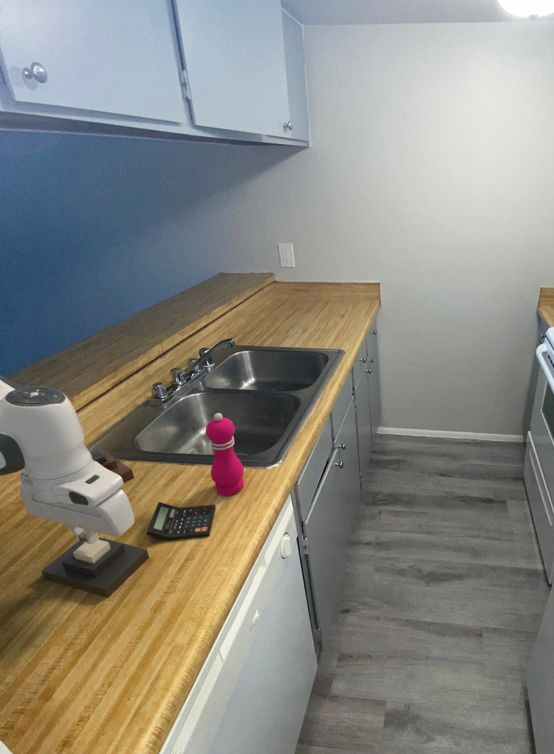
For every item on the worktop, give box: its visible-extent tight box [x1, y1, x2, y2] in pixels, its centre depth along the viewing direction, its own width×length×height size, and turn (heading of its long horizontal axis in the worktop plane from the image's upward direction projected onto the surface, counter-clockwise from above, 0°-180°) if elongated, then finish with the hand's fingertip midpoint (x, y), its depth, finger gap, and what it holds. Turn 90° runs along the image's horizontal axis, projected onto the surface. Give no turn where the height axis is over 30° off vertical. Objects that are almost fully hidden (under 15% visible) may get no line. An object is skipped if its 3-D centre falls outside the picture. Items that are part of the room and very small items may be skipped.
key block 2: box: [98, 449, 135, 484], centre depth 112 cm, size 14×10×4 cm
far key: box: [90, 450, 106, 464], centre depth 111 cm, size 4×4×2 cm
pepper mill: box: [205, 412, 245, 497], centre depth 107 cm, size 7×7×20 cm
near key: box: [73, 540, 111, 564], centre depth 87 cm, size 4×4×2 cm
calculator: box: [145, 501, 216, 541], centre depth 99 cm, size 9×12×3 cm
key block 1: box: [40, 536, 150, 598], centre depth 88 cm, size 14×10×4 cm
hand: (89, 540), depth 85 cm, fingers closed
